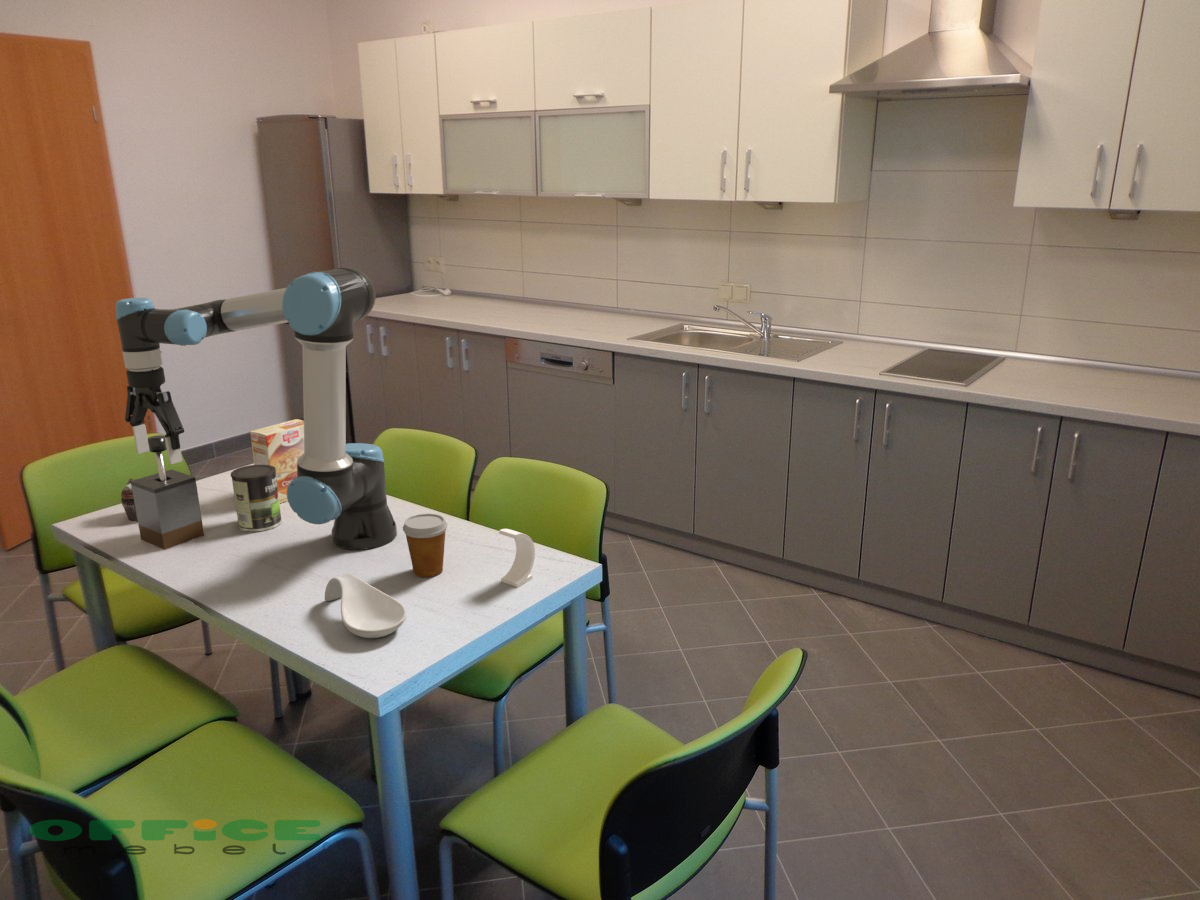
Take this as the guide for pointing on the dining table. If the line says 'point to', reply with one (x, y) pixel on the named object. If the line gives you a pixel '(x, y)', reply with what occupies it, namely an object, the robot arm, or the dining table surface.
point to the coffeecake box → (279, 451)
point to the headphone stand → (520, 559)
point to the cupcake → (129, 502)
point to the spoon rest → (365, 607)
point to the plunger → (158, 453)
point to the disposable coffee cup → (426, 543)
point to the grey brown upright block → (167, 509)
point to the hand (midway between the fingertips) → (159, 457)
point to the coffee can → (256, 497)
